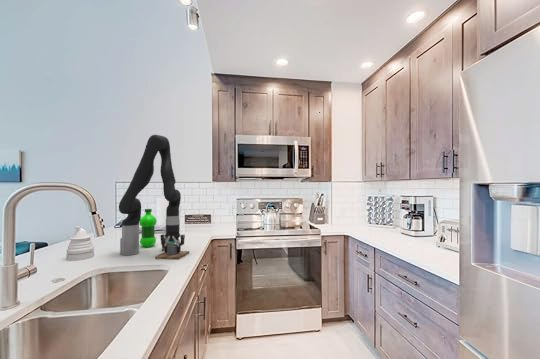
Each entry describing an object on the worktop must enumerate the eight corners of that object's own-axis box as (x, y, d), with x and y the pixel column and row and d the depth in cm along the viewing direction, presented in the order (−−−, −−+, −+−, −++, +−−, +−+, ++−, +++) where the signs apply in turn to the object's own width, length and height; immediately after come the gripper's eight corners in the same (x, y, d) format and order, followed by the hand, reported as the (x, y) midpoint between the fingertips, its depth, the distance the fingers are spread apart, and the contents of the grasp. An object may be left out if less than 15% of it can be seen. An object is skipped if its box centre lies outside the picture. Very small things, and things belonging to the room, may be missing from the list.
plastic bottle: (144, 244, 186) (144, 208, 186) (159, 244, 185) (159, 208, 186) (136, 248, 176) (136, 209, 176) (152, 248, 175) (152, 209, 176)
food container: (169, 251, 166) (169, 235, 166) (160, 251, 167) (160, 235, 167) (180, 247, 178) (180, 232, 178) (171, 246, 179) (171, 231, 179)
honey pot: (79, 261, 146) (80, 228, 146) (60, 260, 148) (60, 227, 149) (99, 255, 158) (99, 224, 159) (81, 254, 161) (81, 224, 161)
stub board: (154, 258, 150) (154, 250, 150) (167, 252, 163) (167, 244, 164) (178, 259, 148) (178, 250, 148) (189, 253, 162) (189, 245, 162)
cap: (172, 255, 152) (172, 246, 152) (164, 254, 155) (164, 245, 155) (180, 253, 157) (180, 244, 157) (172, 252, 160) (172, 243, 160)
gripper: (157, 224, 153) (157, 254, 153) (181, 224, 152) (181, 254, 151) (164, 222, 161) (163, 250, 160) (187, 222, 159) (187, 251, 159)
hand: (172, 252), depth 156 cm, fingers closed on cap, 6 cm apart
